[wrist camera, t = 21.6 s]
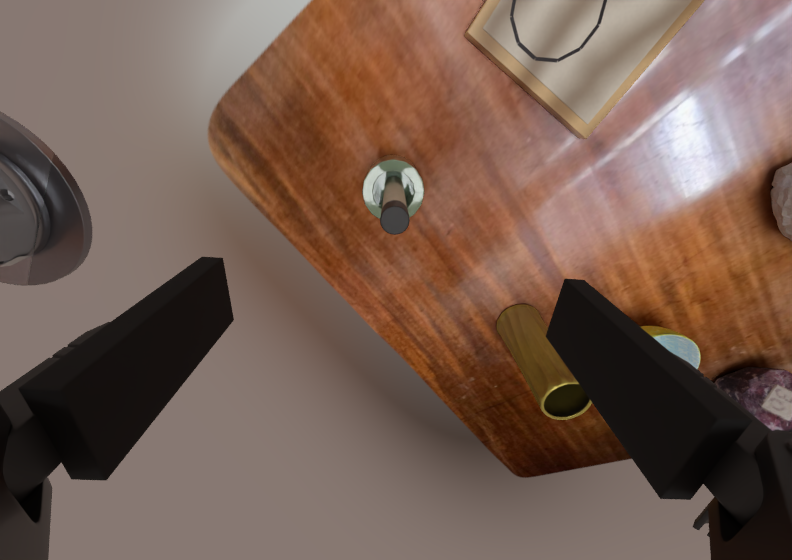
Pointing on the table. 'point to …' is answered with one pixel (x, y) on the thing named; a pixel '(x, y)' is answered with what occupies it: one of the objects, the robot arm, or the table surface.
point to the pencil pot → (382, 172)
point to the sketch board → (577, 49)
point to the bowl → (675, 343)
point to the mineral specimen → (762, 394)
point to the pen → (394, 207)
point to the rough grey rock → (783, 199)
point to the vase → (541, 363)
